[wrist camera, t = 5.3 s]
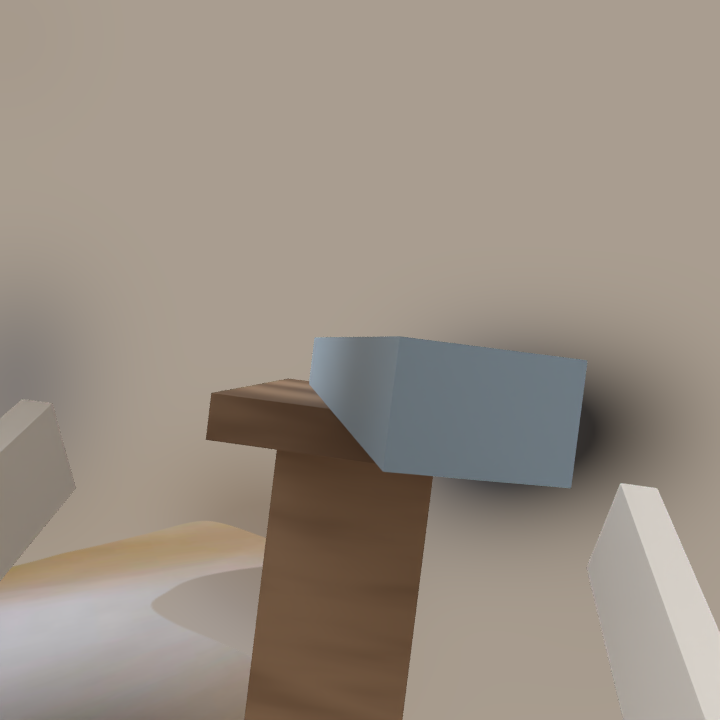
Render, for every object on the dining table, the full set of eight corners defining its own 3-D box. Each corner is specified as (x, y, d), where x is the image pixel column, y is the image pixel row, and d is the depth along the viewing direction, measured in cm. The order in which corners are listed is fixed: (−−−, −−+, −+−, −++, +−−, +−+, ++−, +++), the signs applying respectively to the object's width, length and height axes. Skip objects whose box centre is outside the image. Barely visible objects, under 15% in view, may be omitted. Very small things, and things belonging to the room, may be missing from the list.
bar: (309, 384, 36) (314, 337, 36) (377, 391, 37) (383, 346, 37) (383, 471, 12) (400, 336, 12) (570, 488, 13) (587, 360, 13)
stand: (227, 790, 41) (277, 376, 40) (422, 828, 39) (476, 401, 39) (109, 1071, 25) (188, 390, 24) (429, 1150, 23) (521, 434, 23)
